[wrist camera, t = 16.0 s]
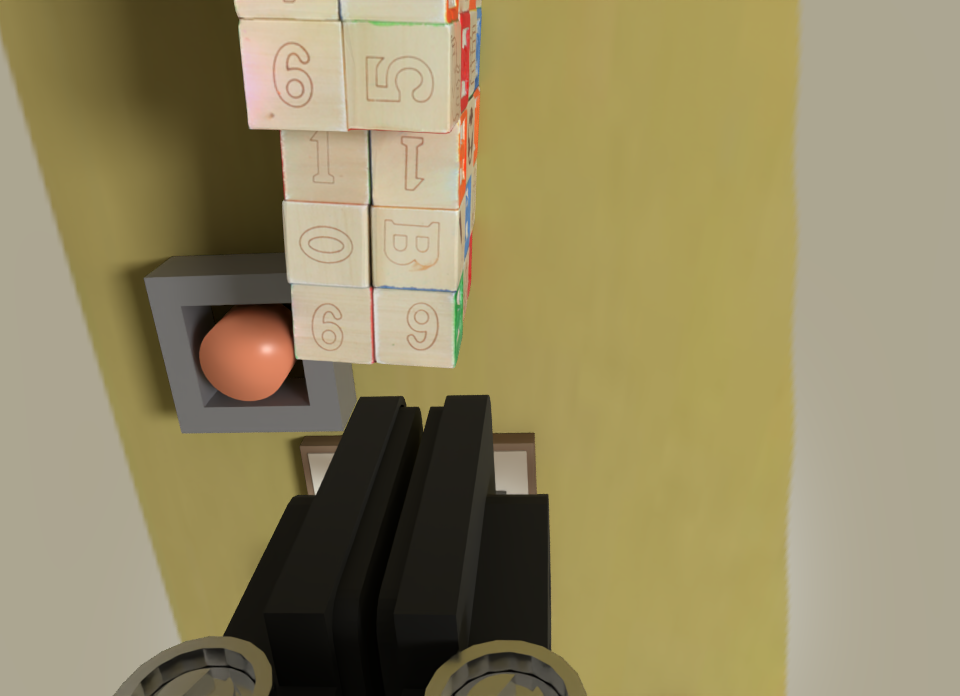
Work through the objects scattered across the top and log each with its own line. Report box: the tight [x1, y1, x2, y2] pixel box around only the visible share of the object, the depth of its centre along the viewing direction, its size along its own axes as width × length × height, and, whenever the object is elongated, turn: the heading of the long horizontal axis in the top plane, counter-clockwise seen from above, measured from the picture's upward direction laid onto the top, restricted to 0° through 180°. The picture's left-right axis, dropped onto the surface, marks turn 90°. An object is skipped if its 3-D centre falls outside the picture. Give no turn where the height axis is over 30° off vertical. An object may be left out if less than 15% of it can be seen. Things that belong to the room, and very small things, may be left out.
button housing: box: [144, 253, 357, 433], centre depth 39 cm, size 8×8×3 cm
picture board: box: [300, 433, 537, 495], centre depth 45 cm, size 16×12×1 cm
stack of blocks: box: [234, 0, 482, 368], centre depth 29 cm, size 21×6×12 cm, turn 178°
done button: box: [199, 303, 298, 401], centre depth 38 cm, size 4×4×3 cm
